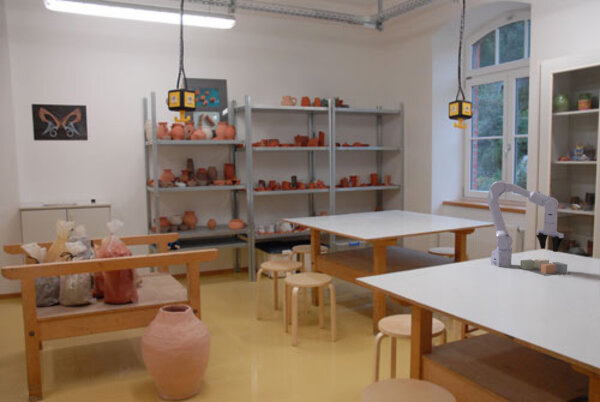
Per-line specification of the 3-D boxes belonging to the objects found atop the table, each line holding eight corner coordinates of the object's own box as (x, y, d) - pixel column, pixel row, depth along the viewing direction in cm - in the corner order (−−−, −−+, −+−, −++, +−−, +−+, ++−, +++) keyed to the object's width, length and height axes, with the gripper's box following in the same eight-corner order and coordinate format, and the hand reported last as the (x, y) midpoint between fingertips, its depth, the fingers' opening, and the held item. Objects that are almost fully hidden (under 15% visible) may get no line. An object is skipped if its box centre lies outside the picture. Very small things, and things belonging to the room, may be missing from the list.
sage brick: (524, 269, 244) (525, 261, 244) (520, 268, 247) (520, 260, 247) (534, 268, 246) (534, 260, 246) (530, 267, 249) (530, 259, 249)
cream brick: (539, 268, 246) (539, 260, 246) (534, 267, 249) (535, 259, 248) (548, 267, 248) (549, 259, 247) (544, 266, 251) (544, 258, 250)
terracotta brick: (545, 273, 236) (545, 265, 236) (540, 272, 239) (541, 264, 238) (555, 272, 238) (555, 264, 237) (550, 271, 241) (550, 263, 240)
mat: (545, 277, 232) (545, 275, 232) (518, 268, 248) (518, 267, 248) (570, 274, 236) (570, 273, 236) (542, 266, 252) (542, 265, 252)
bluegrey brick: (566, 272, 238) (567, 264, 238) (562, 273, 237) (562, 264, 237) (556, 269, 244) (557, 261, 243) (552, 270, 243) (552, 262, 242)
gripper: (569, 224, 236) (567, 252, 237) (545, 220, 249) (543, 246, 251) (557, 225, 233) (556, 253, 235) (534, 221, 247) (532, 247, 248)
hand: (549, 250), depth 242 cm, fingers open, 7 cm apart
